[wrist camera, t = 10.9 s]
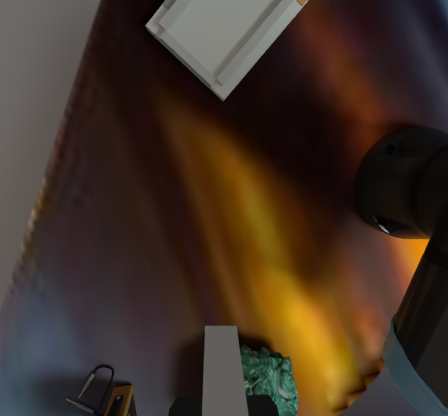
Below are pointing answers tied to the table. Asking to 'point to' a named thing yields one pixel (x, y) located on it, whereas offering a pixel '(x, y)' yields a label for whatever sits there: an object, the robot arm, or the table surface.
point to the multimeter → (113, 399)
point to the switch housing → (221, 35)
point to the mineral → (270, 378)
